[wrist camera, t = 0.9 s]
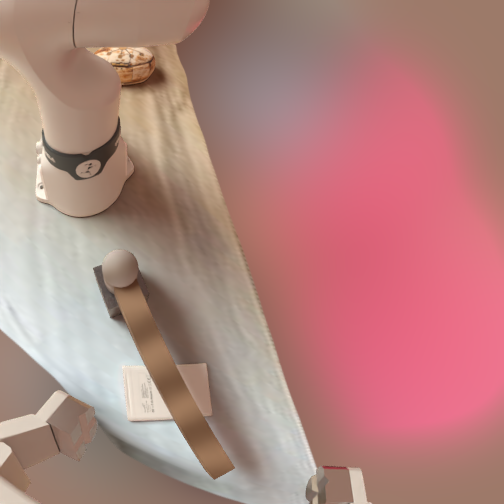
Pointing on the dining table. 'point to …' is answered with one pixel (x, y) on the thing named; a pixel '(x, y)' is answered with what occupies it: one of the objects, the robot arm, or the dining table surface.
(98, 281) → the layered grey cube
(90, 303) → the dining table surface
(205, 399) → the external hard drive
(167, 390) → the walnut swing arm
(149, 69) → the trinket box
